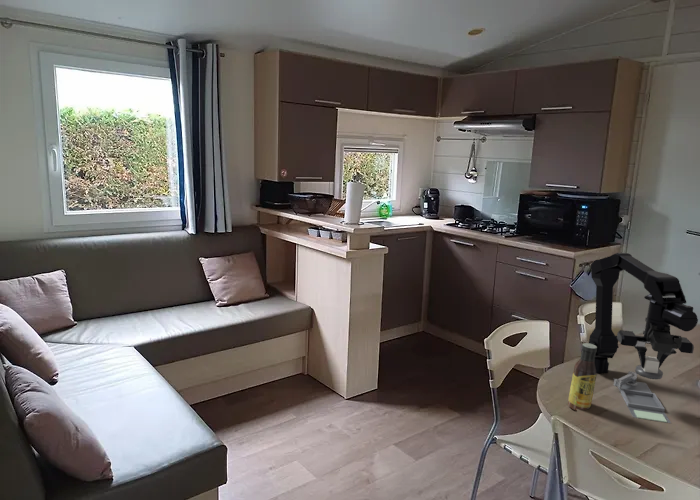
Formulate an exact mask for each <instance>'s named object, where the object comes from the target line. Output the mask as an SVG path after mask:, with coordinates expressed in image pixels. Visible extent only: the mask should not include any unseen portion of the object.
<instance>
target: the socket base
mask: <svg viewBox="0 0 700 500" xmlns="http://www.w3.org/2000/svg"><path fill="white" fill-rule="evenodd" d="M615 379H616V378H615V377H613V381H614V380H615ZM617 388H618V389H617V390H618V391H619V393H620V395H621V397H622V399H623V400H624V401H623V402H625V404H626V407H627V408H628V411H629V413H630V415H631V416H632V418H635V419H641V420H646V421H647V420H648V421H652V422H653V421H654V422H660V423H667V424H672V422H671V420H670V419H669V418H668V415H667V414H666V412H665V411H666V408H665V407H664V405H663V404H662V402H661V400H660V399H659V397H658V396H657V394H656V393H655V392H652V390H651V389H650V387H649V385H648V384H647V383H646V382H644V381H643V382H641V381H636V383H635V384H633V383H629V382H627V383H626V384H624V385H622V387H621V388H619V387H617Z"/></svg>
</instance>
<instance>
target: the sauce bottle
mask: <svg viewBox="0 0 700 500" xmlns="http://www.w3.org/2000/svg"><path fill="white" fill-rule="evenodd" d="M596 352H597V346H596V345H593V344H590V343H589V342H585V343H582V345H581V354H580V357H579V359H578V360H577V361H576V362H575V365H574V368H573V372H572V378H571V383H570V388H569V394H568V402H567V405H568V407H569V408H570V409H572V410H573V411H578V410H584V411H585V410H589V409H590V408H591V406H592V402H593V397H594V391H595V386H596V381H597V376H598V374H597V373H596V368H595V354H596Z"/></svg>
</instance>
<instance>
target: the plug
mask: <svg viewBox="0 0 700 500" xmlns="http://www.w3.org/2000/svg"><path fill="white" fill-rule="evenodd" d="M658 368H659V361H658V359H657V356H649V355H645V365H644V368H642V367H641V364H639V365H636V366H635V370H634V372H635V373H637V376H638V375H639V376H640V377H643V378H646V379H648V380H649V379H650V380H661V379H662V378H663V376H664V372H663V371H662V370H661V369H660V368H659V369H658Z"/></svg>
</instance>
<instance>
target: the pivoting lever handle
mask: <svg viewBox="0 0 700 500" xmlns="http://www.w3.org/2000/svg"><path fill="white" fill-rule="evenodd" d="M637 378H638V374H637V373H636V372H635V371H633V370H632V371H631V370H630V371H628V372H627V374H626V375H623V376H621V377H619V378H615V380H614V379H613V386H614V387H617V388H618V387H619V388H621V387H622V385H624V384H626V383H627V382H629V383H633V384H635V383H636V382H637Z"/></svg>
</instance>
